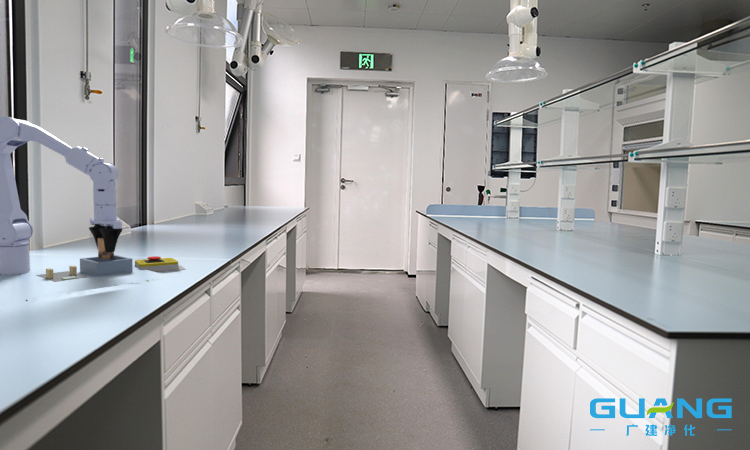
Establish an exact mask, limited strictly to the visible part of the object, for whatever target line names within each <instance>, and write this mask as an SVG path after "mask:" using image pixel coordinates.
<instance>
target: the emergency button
mask: <svg viewBox="0 0 750 450" xmlns="http://www.w3.org/2000/svg"><path fill="white" fill-rule="evenodd" d="M134 268H137V269H139V270H146V271H148V272H149V271H150V272H152V273H153V272H154V273H163V272H172V271H174V272H175V271H186V268H185V267H183V266H182V265H181V264H179V260H177V259H175V258H174V257H161V256H158V255H157V256H155V255H154V256H148V257H147V259H146V258H145V259H135V260H134Z"/></svg>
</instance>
